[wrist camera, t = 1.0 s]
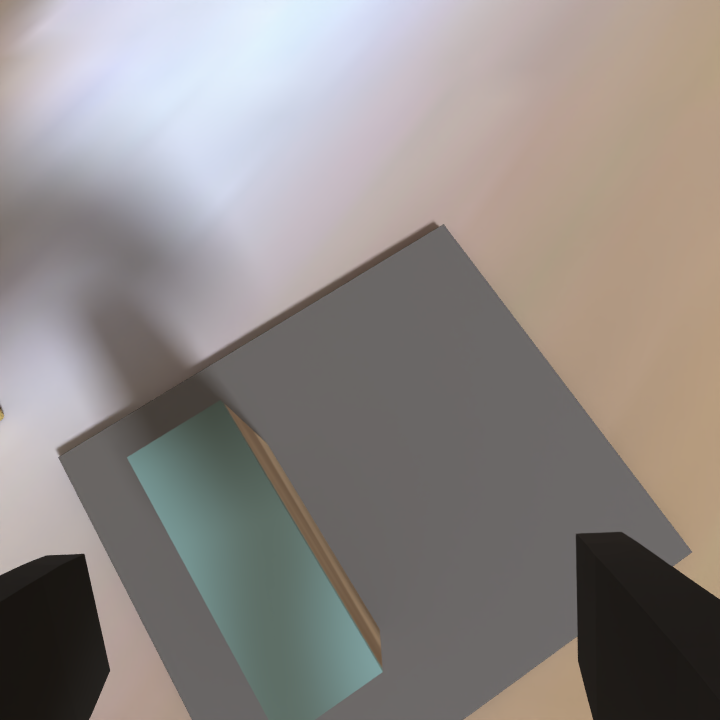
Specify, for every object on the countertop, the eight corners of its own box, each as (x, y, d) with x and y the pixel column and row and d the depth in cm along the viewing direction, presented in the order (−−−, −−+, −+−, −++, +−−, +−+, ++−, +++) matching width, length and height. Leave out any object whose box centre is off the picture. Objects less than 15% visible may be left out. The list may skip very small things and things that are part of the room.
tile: (312, 675, 20) (281, 743, 13) (203, 484, 22) (126, 457, 15) (379, 629, 20) (382, 672, 14) (267, 443, 22) (220, 399, 15)
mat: (267, 857, 19) (265, 863, 19) (63, 458, 22) (58, 457, 22) (686, 551, 21) (692, 551, 21) (442, 229, 25) (443, 224, 24)
